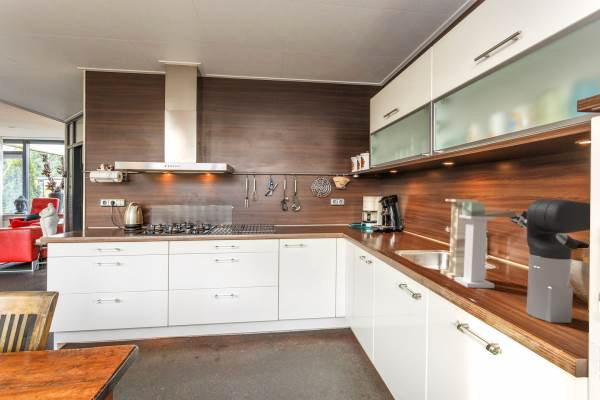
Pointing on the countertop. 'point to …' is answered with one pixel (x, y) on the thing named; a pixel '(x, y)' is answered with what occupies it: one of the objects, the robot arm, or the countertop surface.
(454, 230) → the beige wooden post
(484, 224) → the white pedestal stand
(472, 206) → the mallet
